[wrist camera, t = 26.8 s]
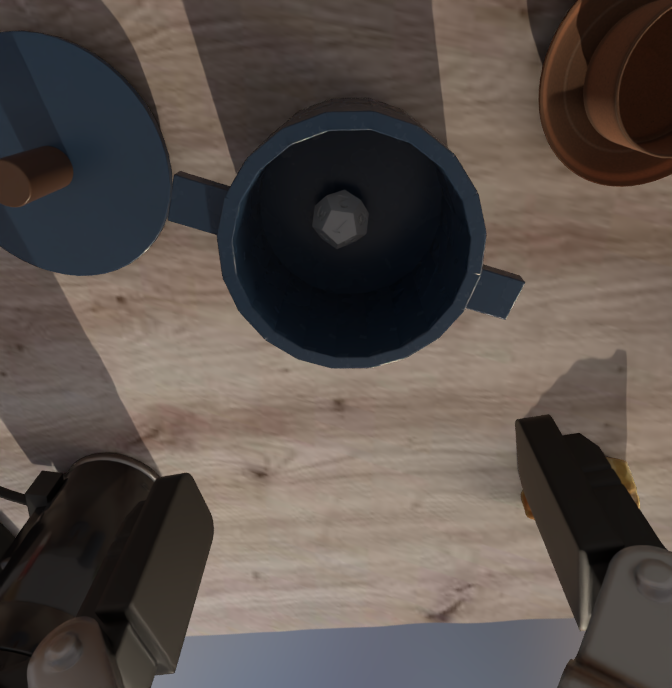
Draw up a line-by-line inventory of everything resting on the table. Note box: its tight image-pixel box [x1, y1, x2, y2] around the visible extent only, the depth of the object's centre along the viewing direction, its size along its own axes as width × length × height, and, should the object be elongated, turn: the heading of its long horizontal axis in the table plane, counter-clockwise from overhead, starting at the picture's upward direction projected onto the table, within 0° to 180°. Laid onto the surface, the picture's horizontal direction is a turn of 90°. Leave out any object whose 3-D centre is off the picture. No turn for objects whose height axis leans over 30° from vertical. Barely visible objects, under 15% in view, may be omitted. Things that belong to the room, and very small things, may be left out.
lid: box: [0, 31, 172, 276], centre depth 30 cm, size 15×15×6 cm
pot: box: [168, 98, 525, 368], centre depth 30 cm, size 14×19×10 cm
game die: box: [312, 190, 369, 249], centre depth 32 cm, size 4×4×3 cm
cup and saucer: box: [539, 0, 672, 187], centre depth 27 cm, size 12×12×6 cm
